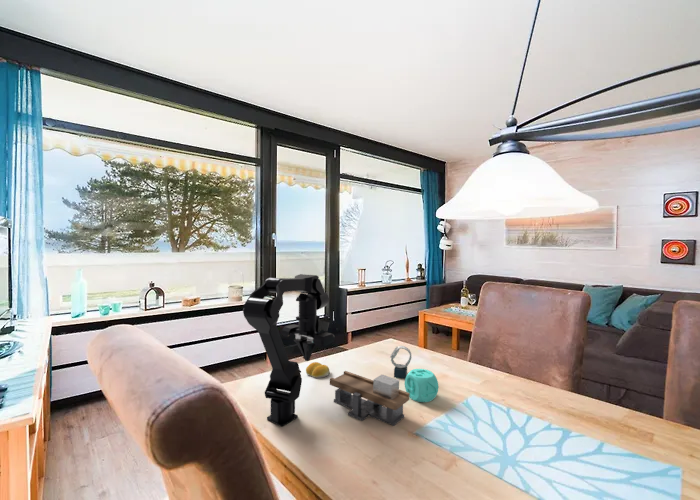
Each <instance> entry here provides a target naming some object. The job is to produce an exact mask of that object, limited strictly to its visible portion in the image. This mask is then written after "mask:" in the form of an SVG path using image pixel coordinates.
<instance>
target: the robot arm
mask: <svg viewBox="0 0 700 500" xmlns="http://www.w3.org/2000/svg"><path fill="white" fill-rule="evenodd" d="M286 292H288V293H289V292H298V293H299V295H298V296H297V297H296V298H295V301H296V302H298V315H297V316H296V317H295V320H296V321H298V324H288V325H286V326H284V327H283V328H282V330H281V334H280V331H279V328H278V325H277V323H278V321H279V318H280V311H281V309H282V307H283V305H284V298H283V297H284V296H283V295H284V294H285V293H286ZM270 293H273V294H276V296H275V297H274V299H272V298H271V299H270V298H266V297H267V296H268V295H269V294H270ZM329 302H330V297H329V295H328V293H326V292H325V288H324V286H323V284H322V281H321V279H320V276H319V275H317V274H316V275H315V274H305V273H304V274H303V273H300V274H297V275H294V277H286V278H285V277H284V278H281V277H268V278H266V279H265V280H264V282H263V283H262V285H261V286H259V287H257V288H256V289H255V290H254V291H252V292H251V293H250V295H249V296H248V298H247V299H246V301H245V303H244V304H243V305H242V314H243V316H244V318H245V320H246V322H247V323H248V325H250V326H251V327H252V328H253V329H255V331H257V333H258V334H259V337H260V339H261V343H262V344H263V347H264V350H265V352H266V356H267V358H268V360H269V363H270V366H271V369H272V370H271V372H270V374H269V381H268V384H267V386H266V388H265V390H264V397H265V398H266V399H269V400H270V415H268V416H266V420H268V421H270V422H272V423H274V424H276V425H277V426H279V427H284V426H286V425H287V424H289V423H291V422H292V421H294V420H296V419H297V418H299V416H298V414H296V413H295V412H296V400H297V399H298V398H299V397H300V395H301V394H300V393H301V389H302V380H303V378H302V374H301V373H302V371H301V369H300V367H299V366H300V365H299V363H298V362H297V361H291V360H290V359H289V356H288V354H287V351H286V348H285V345H284V342H283V340H282V337H281V335H282V336H283V337H286V338H289V336H290V335H291V334H293V335H295V338H294V339H293V342H295V345H297V347H298V349H299V351H300V352H301V354H302V357H303V358H304V361H305V362H309V361H310V359H311V357H312V354H313V351H314V349H315V347H316V346H318V347H320V348H321V347H325V346H328V345H331V344H334V343H335V338H336V337H335V335H334V333H331V332H328V329H329V325H330V322H328V321H324V320H321V319H320V318H321V317H320V315H318V314H317V311H318V310H320V309H322V308H325V307H327V306H328V304H329ZM321 331H323V332H321Z"/></svg>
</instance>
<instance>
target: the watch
mask: <svg viewBox="0 0 700 500" xmlns="http://www.w3.org/2000/svg"><path fill="white" fill-rule="evenodd" d="M400 349H403V350H405V351H406V352H407V353H408V354H409V357H408V360H407V361H406V362H405V363H404V364H402V363H401V364H399V363H396V362H395V361H394V359H395V358H396V356H397V354H399V352H400ZM389 358H390V361H391V364H392V365H393V366H394V369H393V378H395V377H396V378H395V379H404V380H405V378H406V376H407V374H408V367H409V364H410V363H411V360H412V351H411V350H410V349H409V348H408V346H406V345H405V346H404V345H399V346H395V348H394V350H393V351H392V352H391V355H390V357H389Z"/></svg>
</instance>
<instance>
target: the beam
mask: <svg viewBox="0 0 700 500" xmlns="http://www.w3.org/2000/svg"><path fill="white" fill-rule="evenodd" d="M373 382H374V379H370V378H367V377H365V376H362V375H359V374H356V373H353V372H350V371H348V370H345V371H343V374H341V375H339V376H337V377H335V378H334V377H330V378H329V385H330V386H332V387H334V388H337V389H342V390H345V391H347V392H350V393H352V395H353V394H354V393H355V392H357V393H360V394H362V396H361V399H364V400H370V401H373V402H375V403H378V404H380V405H383V407H385V408H387V407H388V408H390V409H393V410H395V411H396V410H397V409H398V408H399V407H401V406H402V405H403V406H404V405H405V404H406V403H407V402H408V401H410V393H408V392H406V390H402V389H399V395H398V396H397V397H395V398H394V399H393V400H391V399H388V398H385V397H383V396H380V395H377V394H375V393H373Z"/></svg>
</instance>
